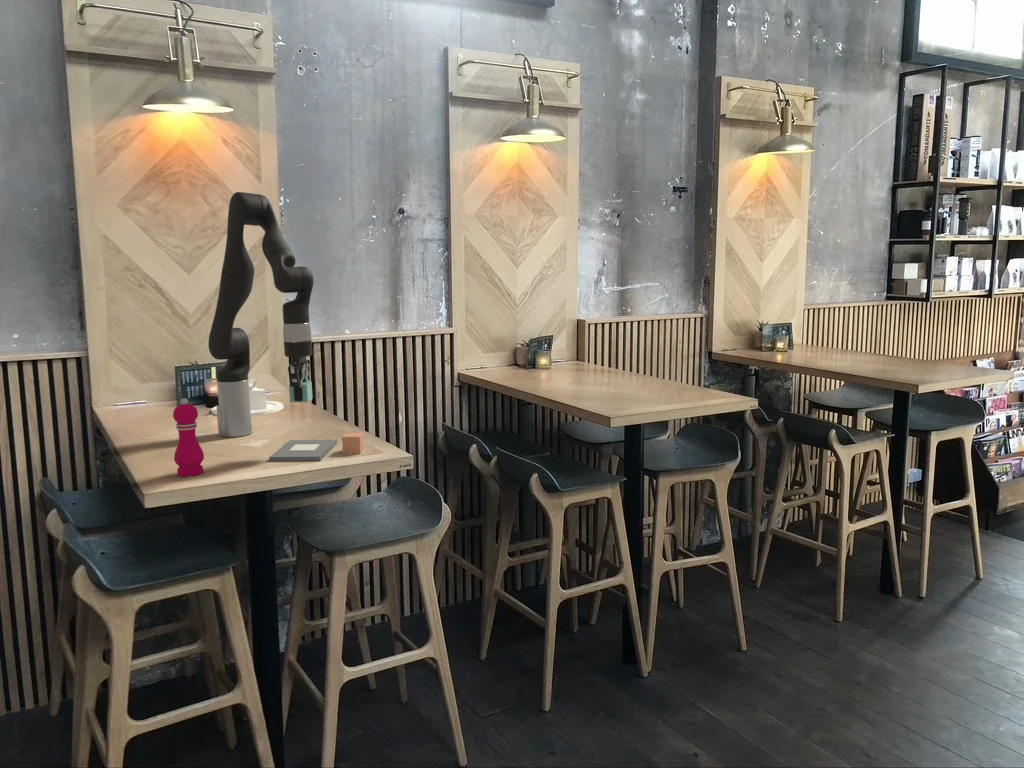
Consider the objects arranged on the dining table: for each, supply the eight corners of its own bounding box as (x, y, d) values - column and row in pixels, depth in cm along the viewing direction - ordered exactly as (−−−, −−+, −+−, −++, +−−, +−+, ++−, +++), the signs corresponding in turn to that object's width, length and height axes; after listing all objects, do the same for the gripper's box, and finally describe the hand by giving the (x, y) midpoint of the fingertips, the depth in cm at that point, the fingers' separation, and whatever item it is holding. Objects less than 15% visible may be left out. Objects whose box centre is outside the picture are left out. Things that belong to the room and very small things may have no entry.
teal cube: (290, 402, 237) (288, 384, 236) (295, 399, 242) (294, 381, 241) (307, 402, 236) (306, 384, 236) (312, 398, 241) (311, 381, 241)
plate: (269, 461, 232) (269, 456, 232) (290, 444, 252) (290, 439, 251) (320, 460, 231) (320, 455, 231) (337, 443, 251) (336, 438, 251)
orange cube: (342, 454, 239) (341, 436, 238) (346, 449, 244) (345, 432, 243) (360, 454, 239) (359, 436, 238) (364, 449, 244) (363, 432, 243)
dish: (263, 401, 323) (261, 372, 321) (295, 410, 305) (293, 379, 303) (200, 410, 307) (197, 380, 305) (230, 420, 289) (227, 388, 287)
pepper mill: (180, 470, 224) (174, 396, 220) (208, 469, 224) (202, 395, 221) (171, 478, 217) (165, 401, 213) (200, 477, 217) (194, 400, 214)
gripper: (291, 336, 243) (295, 394, 246) (276, 342, 229) (280, 404, 232) (317, 336, 243) (320, 394, 246) (303, 341, 229) (307, 403, 232)
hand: (301, 398), depth 239 cm, fingers closed on teal cube, 5 cm apart
